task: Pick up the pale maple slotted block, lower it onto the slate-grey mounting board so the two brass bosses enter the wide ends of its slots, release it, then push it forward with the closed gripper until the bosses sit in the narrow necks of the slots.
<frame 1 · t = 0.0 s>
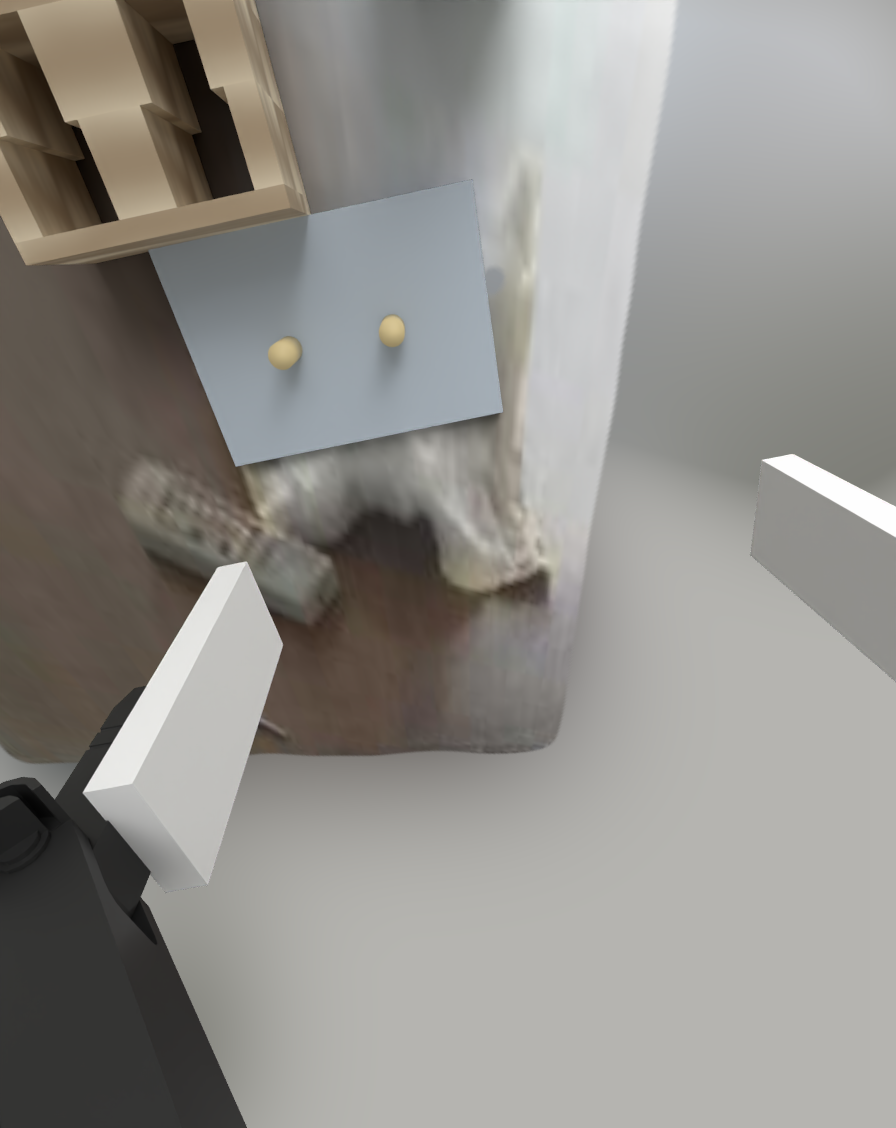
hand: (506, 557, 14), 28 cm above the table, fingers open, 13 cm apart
mount: (343, 335, 37), on the table
panel: (166, 140, 31), on the table
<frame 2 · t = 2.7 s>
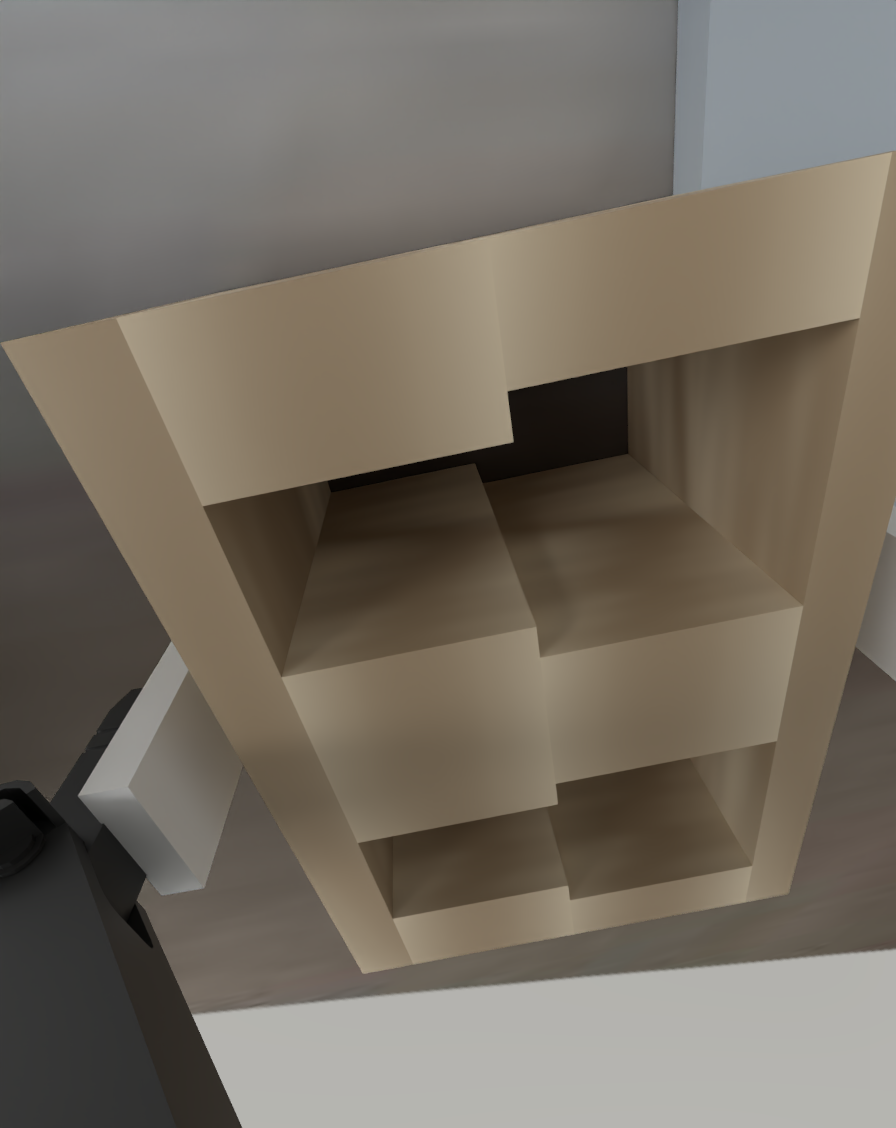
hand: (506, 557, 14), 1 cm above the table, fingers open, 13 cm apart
panel: (486, 534, 15), on the table
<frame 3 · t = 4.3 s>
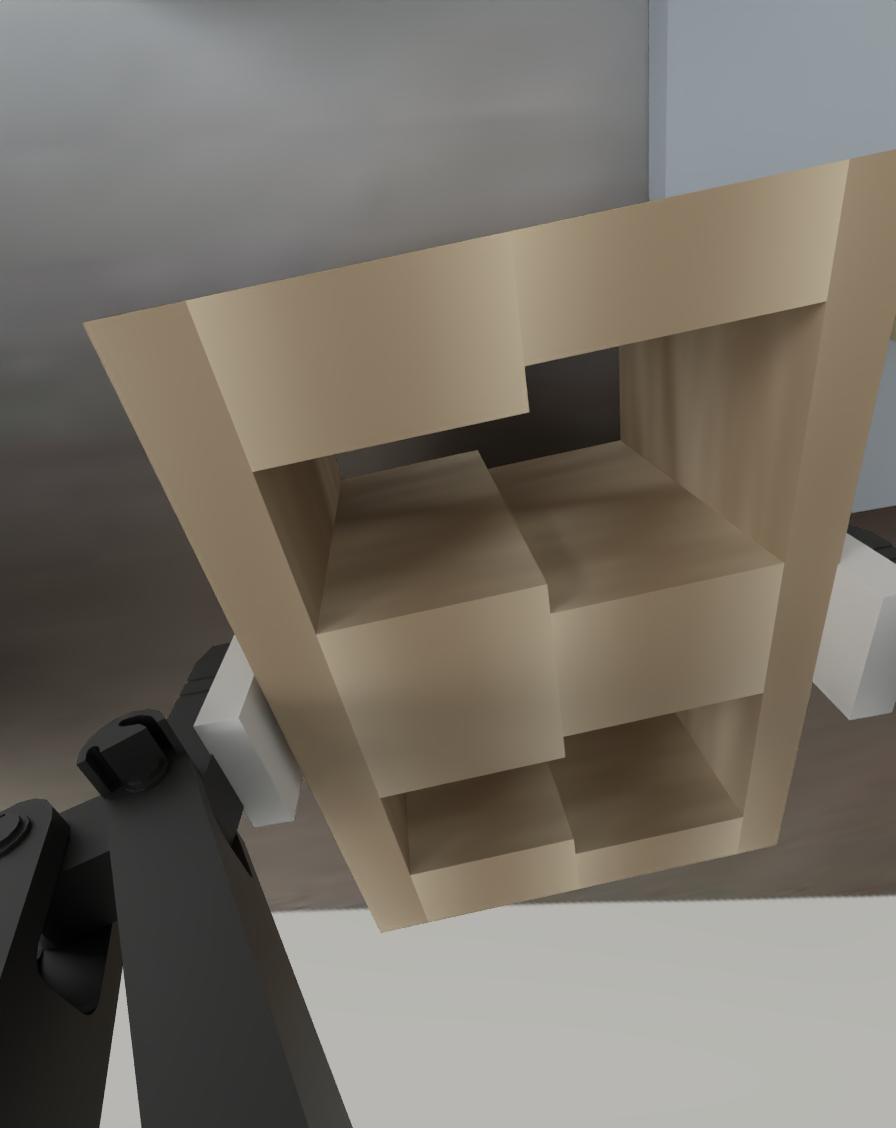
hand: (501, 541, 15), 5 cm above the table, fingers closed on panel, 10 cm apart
panel: (488, 518, 16), point 4 cm above the table, touching gripper
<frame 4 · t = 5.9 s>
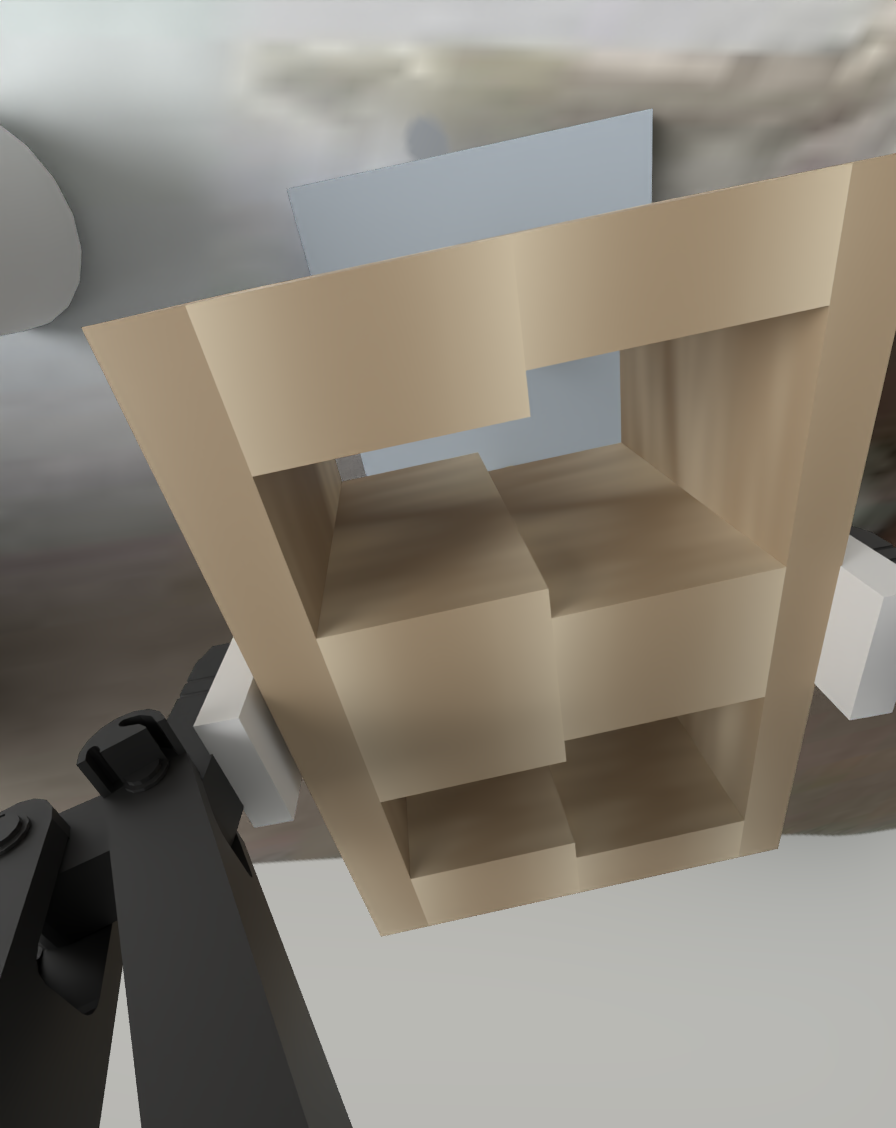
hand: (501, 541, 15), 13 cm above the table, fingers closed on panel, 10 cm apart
mount: (498, 405, 26), on the table
panel: (488, 520, 16), point 12 cm above the table, touching gripper
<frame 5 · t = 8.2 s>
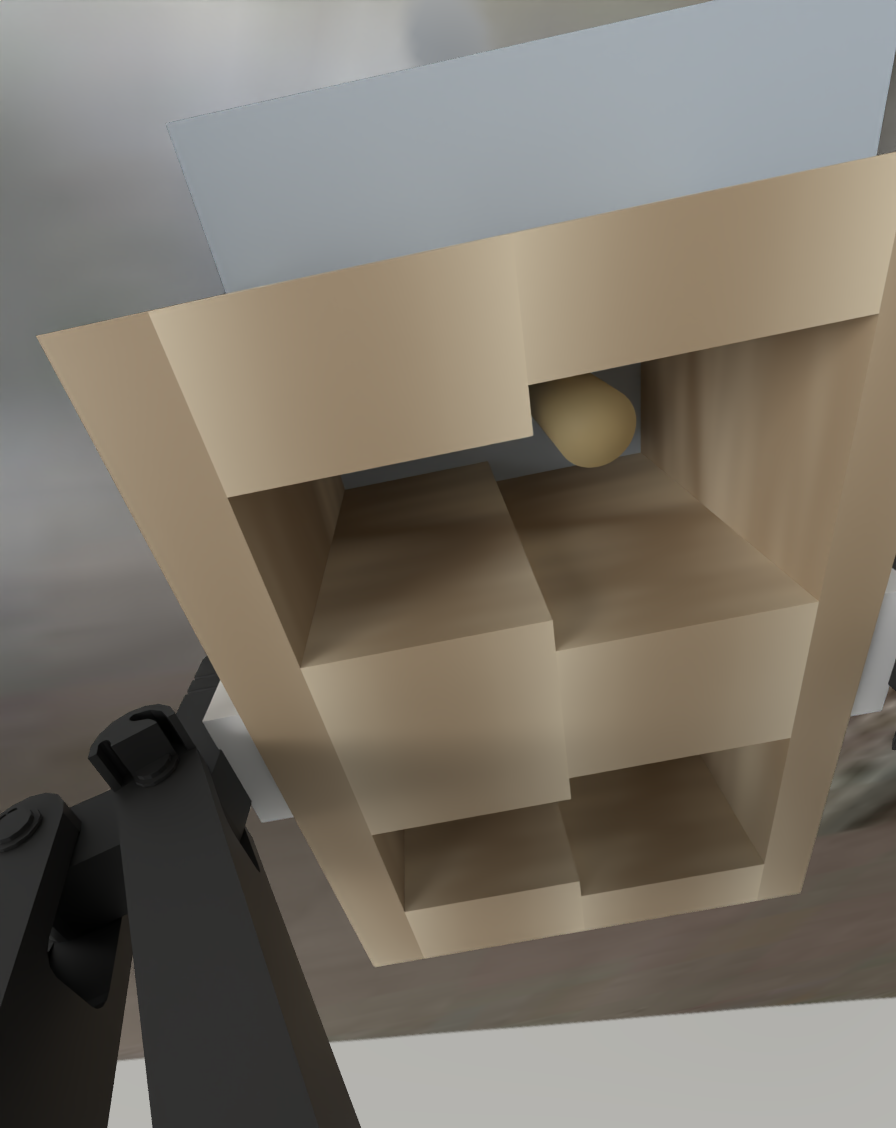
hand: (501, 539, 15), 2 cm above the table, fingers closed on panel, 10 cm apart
mount: (557, 503, 16), on the table
panel: (498, 531, 15), point 1 cm above the table, touching gripper, mount
when the fingers open (2 cm above the table, at t = 8.5 s): panel moves 1 cm, resting on mount.
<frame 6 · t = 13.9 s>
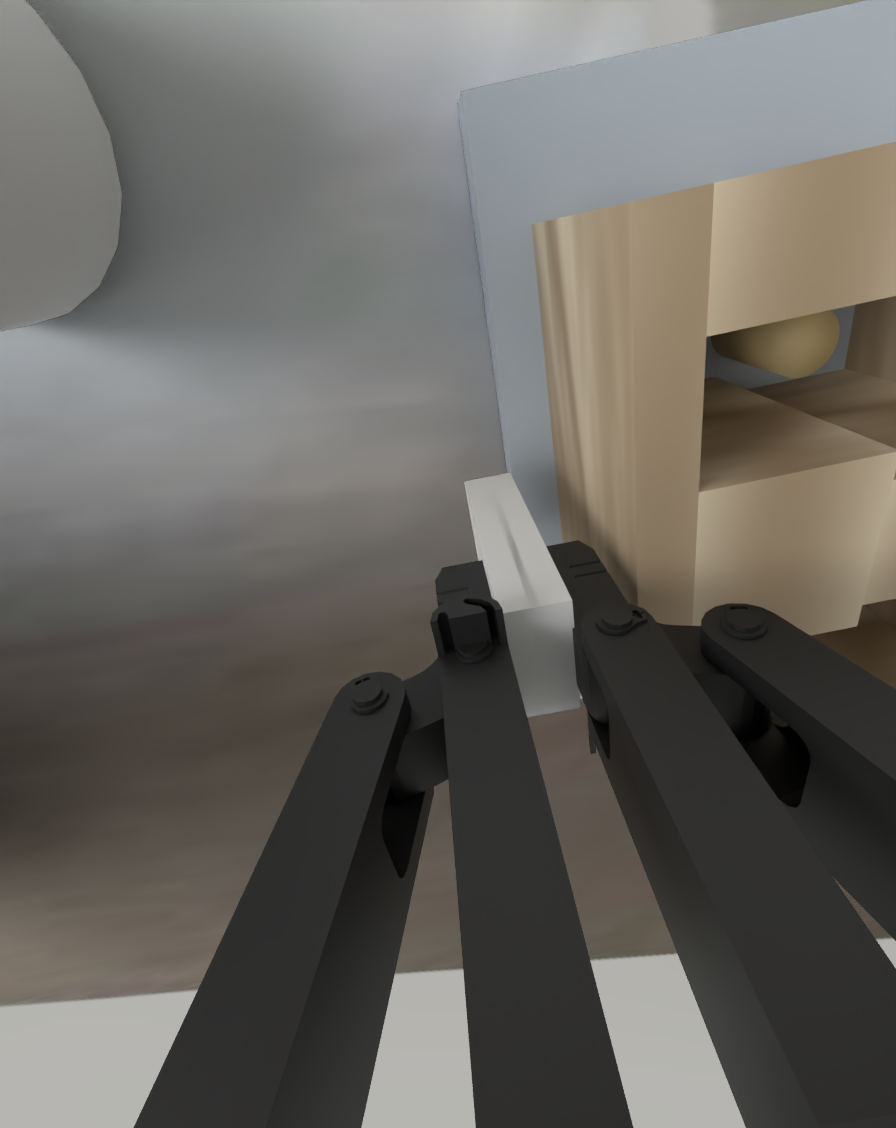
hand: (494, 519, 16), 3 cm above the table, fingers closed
mount: (709, 433, 18), on the table
panel: (710, 443, 17), point 1 cm above the table, touching gripper, mount
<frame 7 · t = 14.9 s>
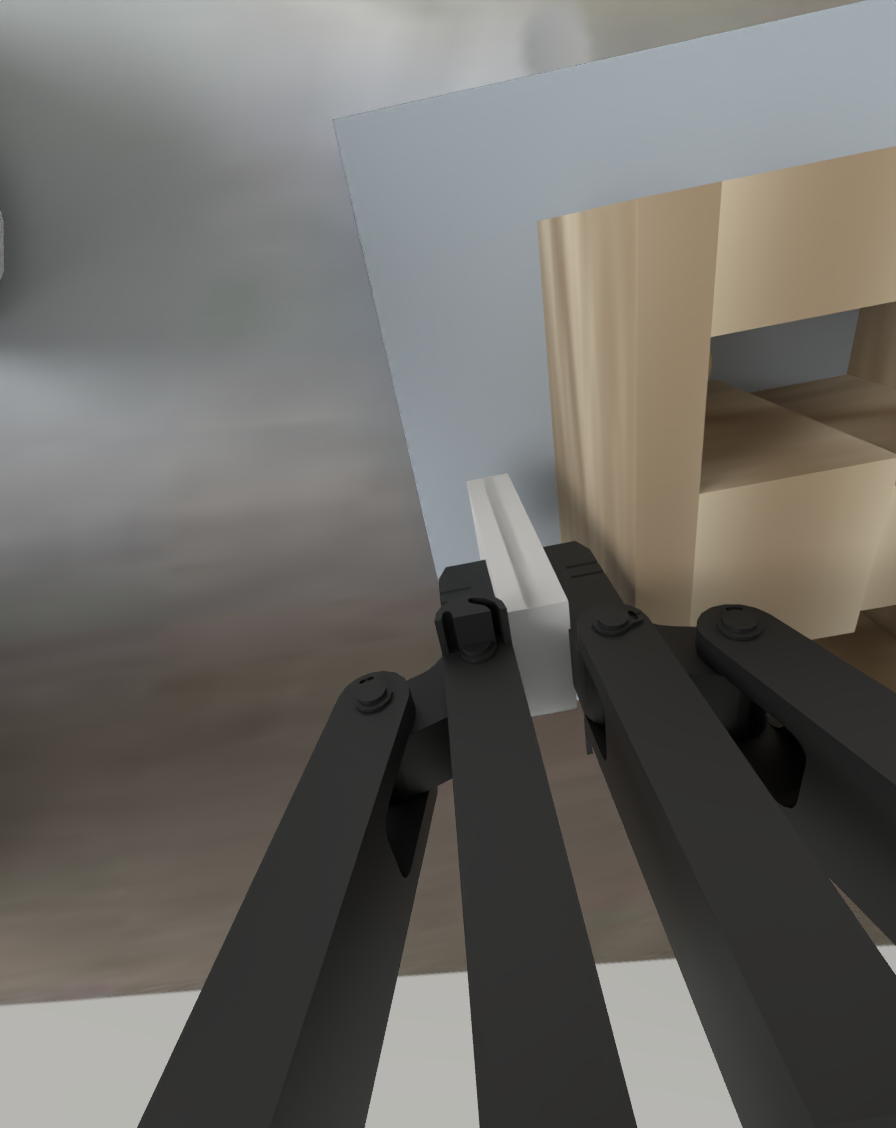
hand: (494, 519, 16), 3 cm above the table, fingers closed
mount: (621, 452, 18), on the table
panel: (710, 446, 17), point 1 cm above the table, touching gripper, mount
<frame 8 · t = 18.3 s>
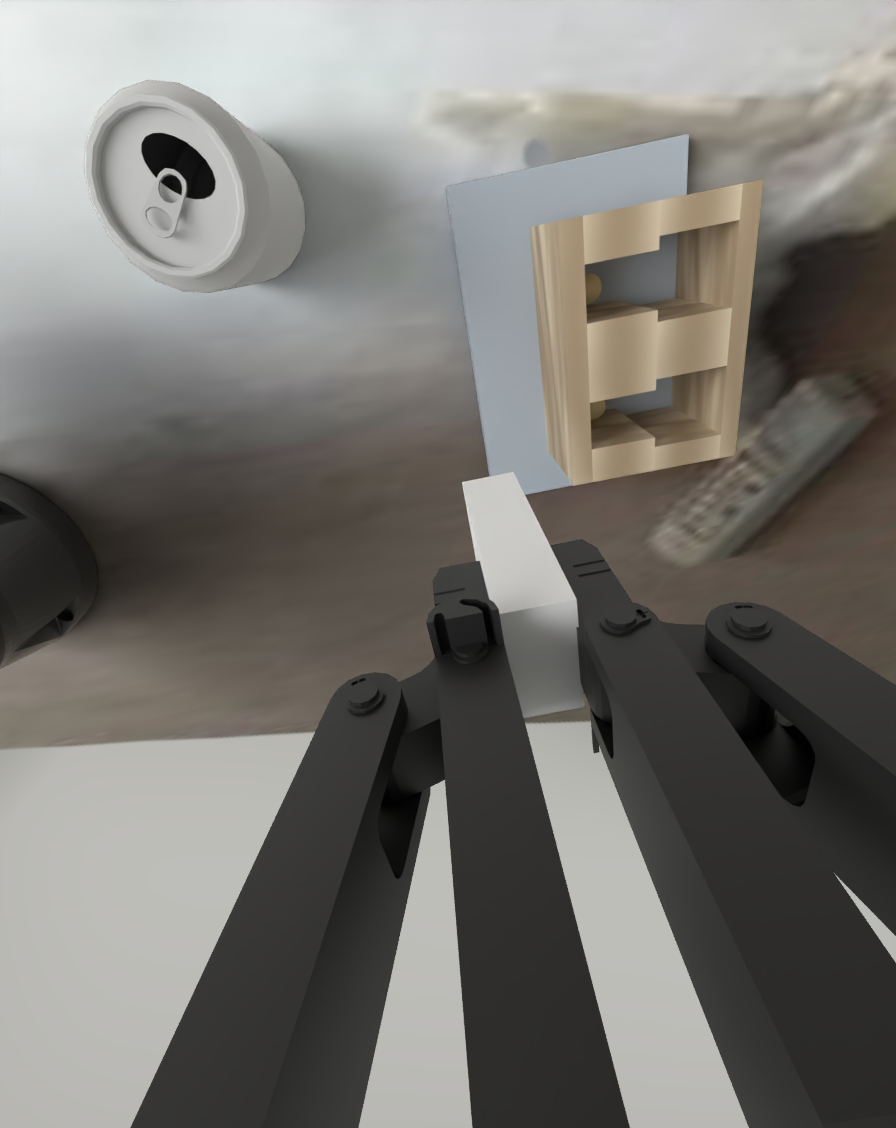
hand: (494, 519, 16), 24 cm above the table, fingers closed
can: (244, 211, 32), on the table
mount: (572, 341, 37), on the table
panel: (614, 335, 35), point 1 cm above the table, touching mount
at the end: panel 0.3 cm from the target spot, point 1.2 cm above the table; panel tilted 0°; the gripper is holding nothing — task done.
